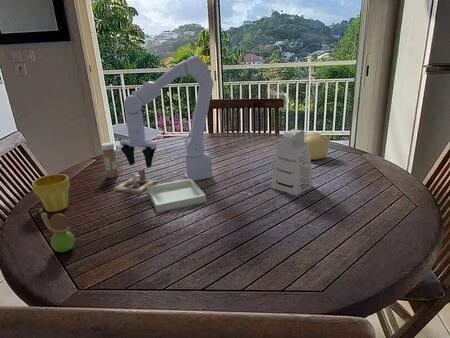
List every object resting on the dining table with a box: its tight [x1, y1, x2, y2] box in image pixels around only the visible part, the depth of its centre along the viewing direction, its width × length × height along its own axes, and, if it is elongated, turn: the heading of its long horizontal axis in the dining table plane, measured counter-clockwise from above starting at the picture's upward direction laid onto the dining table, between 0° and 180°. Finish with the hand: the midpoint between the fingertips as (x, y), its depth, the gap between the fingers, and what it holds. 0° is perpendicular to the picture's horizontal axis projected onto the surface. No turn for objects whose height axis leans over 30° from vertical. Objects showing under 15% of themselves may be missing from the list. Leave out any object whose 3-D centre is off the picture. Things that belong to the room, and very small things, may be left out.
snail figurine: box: [38, 208, 76, 253], centre depth 83 cm, size 5×6×12 cm
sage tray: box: [146, 178, 207, 213], centre depth 112 cm, size 16×16×2 cm
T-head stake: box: [127, 173, 141, 188], centre depth 122 cm, size 4×2×4 cm, turn 67°
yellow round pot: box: [302, 132, 330, 161], centre depth 144 cm, size 12×12×11 cm
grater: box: [270, 128, 314, 195], centre depth 114 cm, size 10×10×20 cm
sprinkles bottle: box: [100, 141, 119, 179], centre depth 131 cm, size 5×5×14 cm
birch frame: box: [114, 168, 157, 195], centre depth 122 cm, size 10×10×5 cm
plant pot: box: [31, 173, 71, 213], centre depth 107 cm, size 10×10×10 cm
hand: (140, 165), depth 124 cm, fingers open, 7 cm apart
